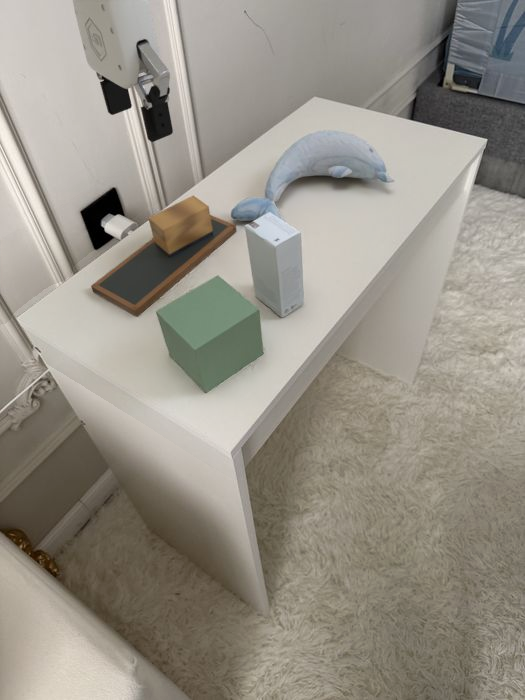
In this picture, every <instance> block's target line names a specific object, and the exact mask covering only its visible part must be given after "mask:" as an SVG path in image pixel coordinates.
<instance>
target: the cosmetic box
mask: <svg viewBox="0 0 525 700" xmlns="http://www.w3.org/2000/svg"><path fill="white" fill-rule="evenodd" d="M244 230H245V236H246V243H247V251H248V257H249V263H250V271H251V278H252V284H253V291H254V296H255V297H256V298H257V299H258V300H259V301H261V302H262V303H263V304H264V305H266V307H268V308H269V309H271V310H272V311H273V312H274V313H275V314H276V315H277V316H279V317H280V318H284V317H286V316H288V315H290V314H291V313H293V312H294V311H296V310H298V309H299V308H300V307H303V305H304V304H305V291H304V290H305V289H304V268H303V249H302V232H301V231H300V230H298V229H297V228H295V227H294V226H292V225H291V224H289V223H287V222H284V221H283V220H281V219H280V218H278V217H277V216H275V215H274V214H272V213H271V212H269V213H267V214H265V215H263V216H261V217H258V218H257V219H255V220H251V222H249V223H247V224H245V225H244Z"/></svg>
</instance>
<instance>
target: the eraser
mask: <svg viewBox="0 0 525 700" xmlns="http://www.w3.org/2000/svg"><path fill="white" fill-rule="evenodd" d="M210 211H211V210H210V206H209V205H207V204H206V203H205V202H203V201H202V200H201V199H199V198H198V197H196V196H195V195H194V194H193V195H191V196H189V197H187V198H185V199H183V200H181V201H179V202H177V203H175V204H173V205H171V206H169V207H167V208H165V209H163V210H161V211H159V212H157V213H155V214H153V215H151V216H149V217H148V218H147V220H148V222H149V226H150V229H151V233H152V238H154V241H155V244H156V246H157V247H158V248H159V249H161V250H162V251H163V252H164V253H165V254H166V255H168V256H169V257H172V256H174V255H176V254H177V253H179V252H181V251H183V250H185V249H187V248H188V247H190V246H192V245H194V244H196V243H198V242H200V241H201V240H203V239H205V238H207V237H209V236H211V235H212V234H213V229H212V223H211V217H210V215H211V212H210Z"/></svg>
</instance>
